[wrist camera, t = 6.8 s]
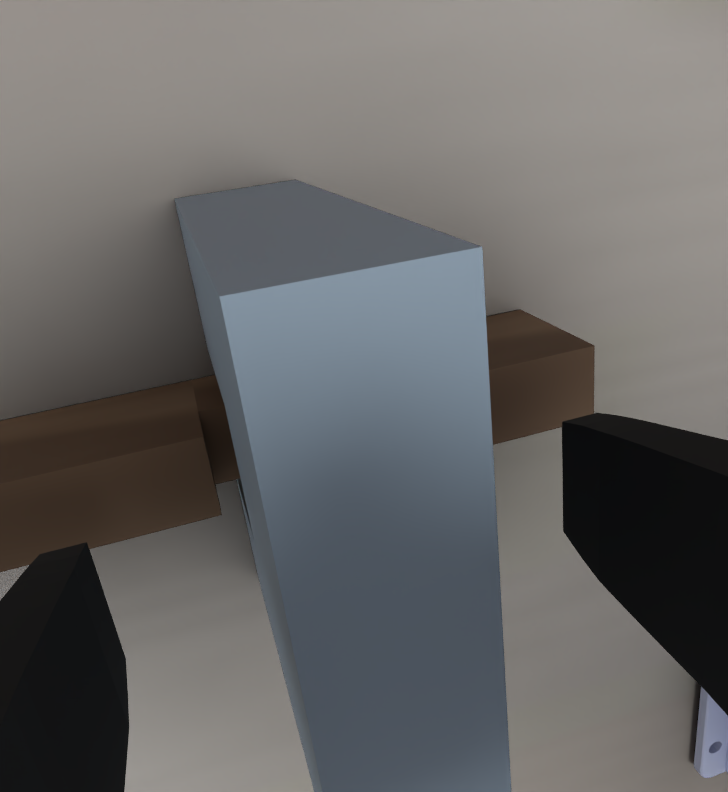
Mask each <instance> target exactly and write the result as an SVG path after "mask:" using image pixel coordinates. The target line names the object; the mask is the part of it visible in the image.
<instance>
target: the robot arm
mask: <svg viewBox="0 0 728 792" xmlns="http://www.w3.org/2000/svg"><path fill="white" fill-rule="evenodd" d="M562 457H563V531H564V533H565V534H566V536H567V537H568V539H569V540H570V541H571V543H572V544H573V546H574V547H575V549H576V550H577V552H578V553H579V554H580V556H581V557H582V559H583V560H584V561H585V563H586V564H587V565H588V567H589V568H590V569H591V571H592V572H593V573H594V575H595V576H596V577H597V579H598V580H599V581H600V582H601V583H602V584H603V585H604V586H605V588H606V589H607V590H608V591H609V592H610V593H611V594H612V595H613V596H614V597H615V598H616V599H617V600H618V601H619V602H620V603H621V604H622V605H623V606H624V608H625V609H626V610H627V611H628V612H629V613H630V614H631V615H632V616H633V617H634V618H635V619H636V620H637V621H638V622H639V623H640V624H641V625H642V626H643V627H644V628H645V629H646V630H647V631H648V632H649V633H650V634H651V635H652V636H653V637H654V638H655V639H656V641H657V642H658V643H659V644H660V645H661V646H662V647H663V648H664V649H665V650H666V651H667V652H668V653H669V654H670V655H671V656H672V657H673V658H674V659H675V660H676V661H677V662H678V663H679V664H680V665H681V666H682V667H683V668H684V669H685V670H686V671H687V672H688V673H689V674H690V675H691V676H692V677H693V678H694V679H695V680H696V682H697V683H698V684H699V685H700V686H701V694H700V705H699V715H698V726H697V736H696V747H695V758H694V768H695V769H696V770H697V772H698V773H699V774H700V775H701V776H702V777H705V778H710V777H713V776H716V775H718V774H721V773H723V772H725V771H726V772H727V773H728V440H723V439H719V438H715V437H711V436H706V435H702V434H698V433H694V432H690V431H685V430H681V429H677V428H673V427H669V426H664V425H660V424H656V423H651V422H647V421H642V420H638V419H633V418H628V417H623V416H617V415H610V414H602V413H594V414H590V415H586V416H582V417H578V418H575V419H571V420H567V421H563V422H562ZM128 734H129V714H128V691H127V674H126V658H125V655H124V652H123V649H122V646H121V643H120V640H119V637H118V634H117V631H116V628H115V625H114V622H113V619H112V616H111V613H110V610H109V607H108V604H107V601H106V598H105V595H104V592H103V589H102V586H101V583H100V580H99V577H98V574H97V571H96V568H95V565H94V562H93V559H92V556H91V553H90V550H89V547H88V544H87V542H85V543H81V544H77V545H74V546H70V547H66V548H62V549H58V550H54V551H50V552H46V553H42V554H39V555H38V556H37V558H36V559H35V560H34V561H33V562H32V563H31V564H30V565H29V566H28V568H27V569H26V570H25V571H24V572H23V574H22V575H21V576H20V577H19V579H18V580H17V581H16V582H15V583H14V585H13V586H12V587H11V588H10V590H9V591H8V592H7V593H6V595H5V596H4V597H3V598H2V599H1V601H0V792H124V787H125V774H126V761H127V748H128Z"/></svg>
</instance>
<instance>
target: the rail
mask: <svg viewBox="0 0 728 792" xmlns="http://www.w3.org/2000/svg"><path fill="white" fill-rule="evenodd" d="M486 327H487V346H488V365H489V384H490V402H491V421H492V440H493V445H494V444H498V443H502V442H505V441H509V440H513V439H517V438H521V437H525V436H529V435H532V434H536V433H540V432H544V431H548V430H552V429H556V428H560V427H562V422H563V421H567V420H571V419H575V418H578V417H582V416H586V415H590V414H594V345H592V344H590V343H588V342H586V341H584V340H582V339H580V338H578V337H576V336H574V335H572V334H569V333H567V332H565V331H563V330H561V329H559V328H557V327H555V326H553V325H551V324H549V323H547V322H545V321H543V320H541V319H539V318H537V317H535V316H533V315H531V314H529V313H527V312H524V311H522V310H516V311H511V312H506V313H502V314H497V315H492V316H488V317H486ZM239 478H240V474H239V469H238V464H237V460H236V455H235V451H234V446H233V442H232V437H231V433H230V428H229V423H228V419H227V414H226V410H225V405H224V402H223V398H222V395H221V392H220V388H219V385H218V382H217V379H216V375H212V376H207V377H203V378H198V379H193V380H189V381H184V382H179V383H175V384H170V385H165V386H161V387H156V388H151V389H147V390H142V391H137V392H133V393H128V394H123V395H119V396H114V397H109V398H105V399H100V400H95V401H91V402H86V403H81V404H77V405H72V406H67V407H62V408H58V409H53V410H48V411H44V412H39V413H34V414H30V415H25V416H20V417H16V418H11V419H6V420H2V421H0V572H3V571H7V570H11V569H14V568H18V567H22V566H26V565H30V564H31V563H32V562H33V561H34V560H35V559H36V558H37V556H38V555H39V554H42V553H46V552H50V551H54V550H58V549H62V548H66V547H70V546H74V545H77V544H81V543H85V542H87V544H88V547H89V549H92V548H96V547H99V546H103V545H107V544H111V543H115V542H119V541H123V540H127V539H130V538H134V537H138V536H142V535H146V534H150V533H154V532H157V531H161V530H165V529H169V528H173V527H177V526H181V525H185V524H188V523H192V522H196V521H200V520H204V519H208V518H212V517H215V516H219V515H222V514H221V509H220V504H219V499H218V495H217V490H216V485H215V484H219V483H223V482H227V481H231V480H235V479H239Z"/></svg>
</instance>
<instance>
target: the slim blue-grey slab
mask: <svg viewBox="0 0 728 792" xmlns="http://www.w3.org/2000/svg"><path fill="white" fill-rule="evenodd" d="M175 204H176V208H177V213H178V218H179V222H180V227H181V231H182V236H183V240H184V245H185V249H186V254H187V258H188V263H189V267H190V272H191V276H192V281H193V285H194V290H195V294H196V299H197V303H198V308H199V312H200V317H201V321H202V326H203V330H204V335H205V339H206V344H207V348H208V352H209V355H210V359H211V362H212V365H213V369H214V372H215V375H216V379H217V382H218V385H219V388H220V392H221V395H222V398H223V402H224V405H225V410H226V414H227V419H228V423H229V428H230V433H231V437H232V442H233V446H234V451H235V455H236V460H237V464H238V469H239V474H240V478H239V479H237V483H238V488H239V492H240V497H241V502H242V506H243V511H244V515H245V520H246V524H247V529H248V533H249V538H250V542H251V547H252V551H253V556H254V560H255V565H256V569H257V574H258V578H259V582H260V586H261V590H262V593H263V597H264V601H265V605H266V609H267V612H268V616H269V620H270V624H271V628H272V632H273V635H274V639H275V643H276V647H277V651H278V655H279V658H280V662H281V666H282V670H283V674H284V677H285V681H286V685H287V689H288V693H289V697H290V700H291V704H292V708H293V712H294V716H295V719H296V723H297V727H298V731H299V735H300V739H301V742H302V746H303V750H304V754H305V758H306V762H307V765H308V769H309V773H310V777H311V781H312V784H313V788H314V792H511V777H510V758H509V740H508V721H507V702H506V683H505V665H504V646H503V627H502V608H501V590H500V571H499V552H498V533H497V515H496V496H495V477H494V458H493V440H492V421H491V402H490V384H489V365H488V346H487V327H486V308H485V290H484V271H483V252H482V247H481V246H479V245H476V244H473V243H470V242H467V241H465V240H462V239H459V238H456V237H454V236H451V235H448V234H445V233H442V232H440V231H437V230H434V229H431V228H429V227H426V226H423V225H420V224H418V223H415V222H412V221H409V220H406V219H404V218H401V217H398V216H395V215H393V214H390V213H387V212H384V211H381V210H379V209H376V208H373V207H370V206H368V205H365V204H362V203H359V202H356V201H354V200H351V199H348V198H345V197H343V196H340V195H337V194H334V193H331V192H329V191H326V190H323V189H320V188H318V187H315V186H312V185H309V184H306V183H304V182H301V181H298V180H290V181H284V182H278V183H271V184H265V185H258V186H252V187H246V188H239V189H233V190H226V191H220V192H214V193H207V194H201V195H194V196H188V197H182V198H175Z"/></svg>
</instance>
